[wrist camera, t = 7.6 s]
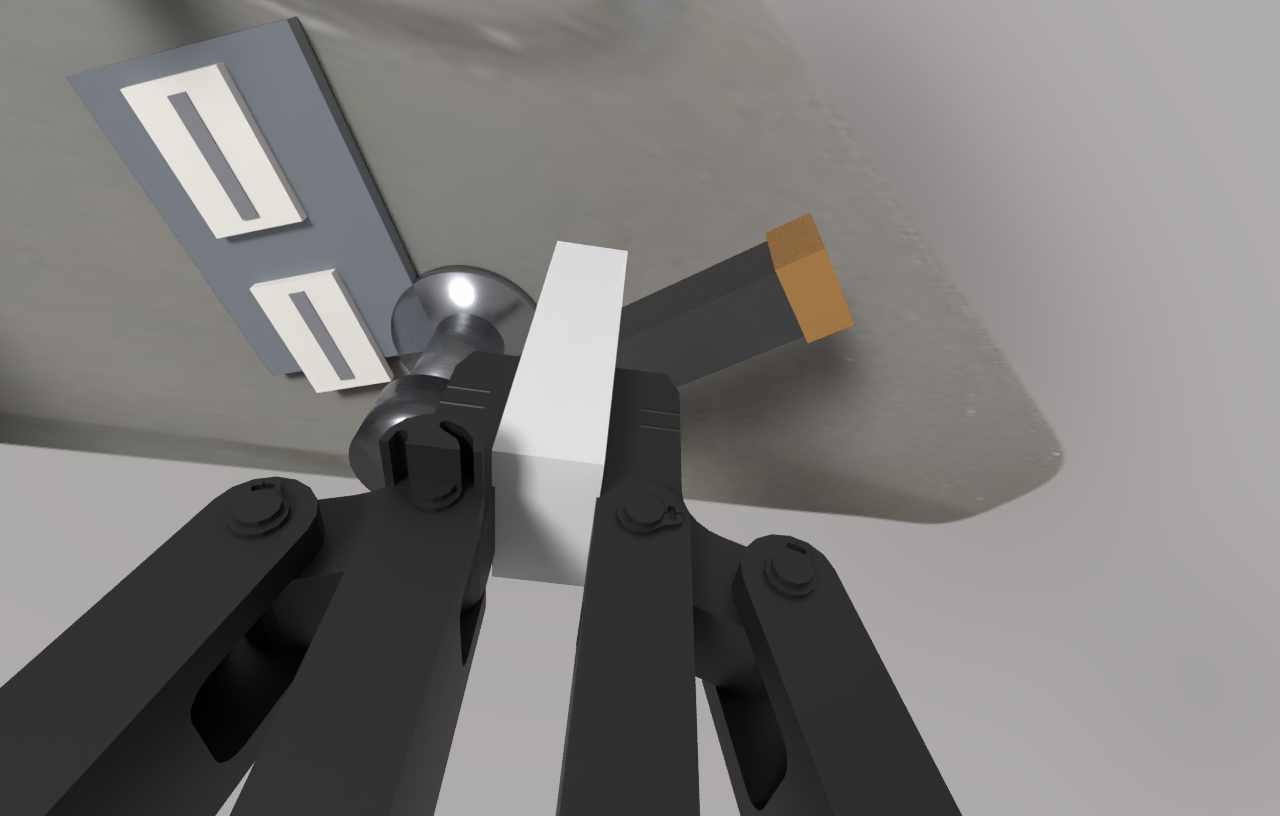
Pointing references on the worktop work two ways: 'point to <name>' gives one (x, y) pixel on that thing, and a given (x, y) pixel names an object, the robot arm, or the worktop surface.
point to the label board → (266, 198)
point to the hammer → (677, 327)
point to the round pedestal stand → (466, 317)
